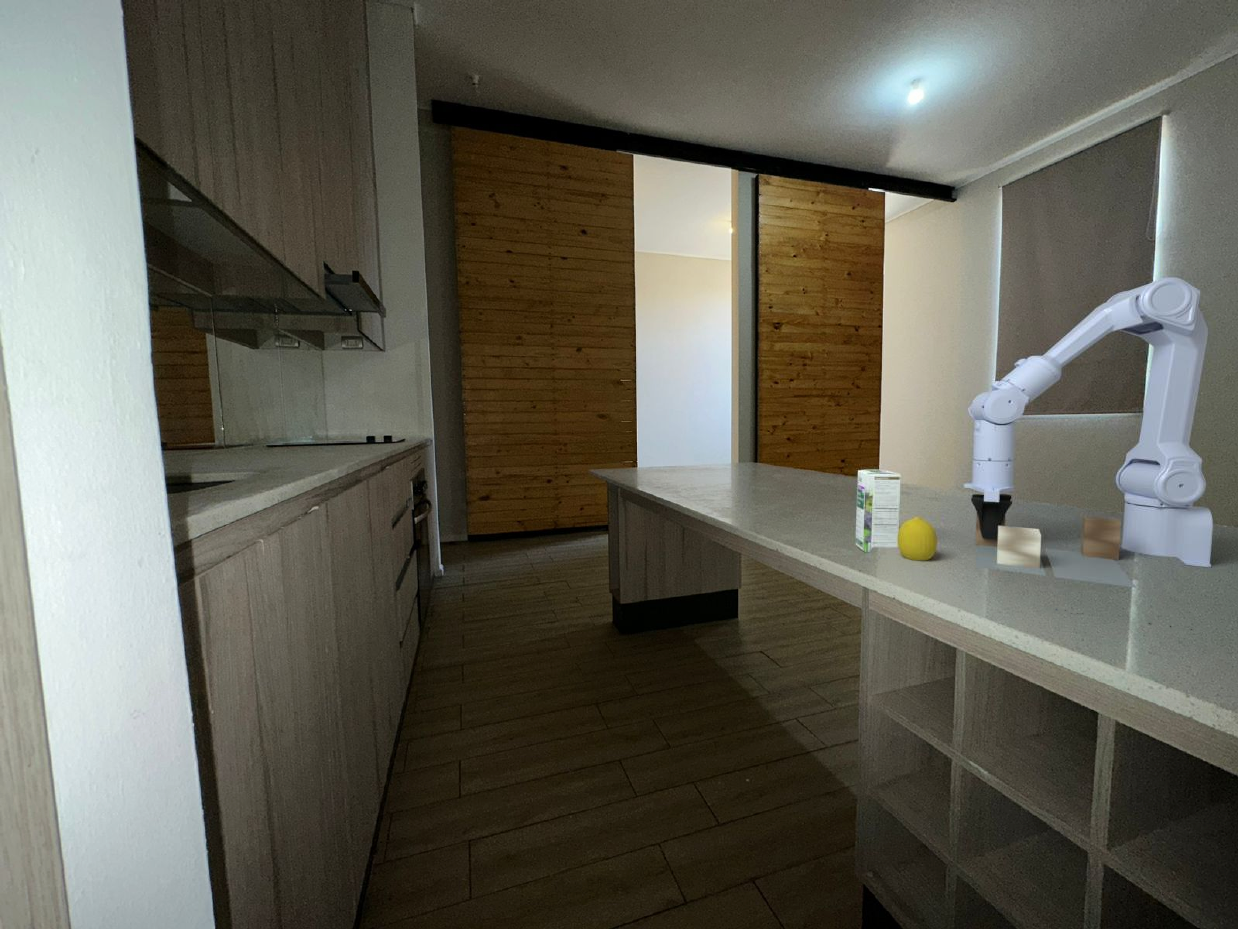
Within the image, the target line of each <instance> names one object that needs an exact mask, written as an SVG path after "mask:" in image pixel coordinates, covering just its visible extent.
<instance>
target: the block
mask: <svg viewBox="0 0 1238 929" xmlns="http://www.w3.org/2000/svg"><path fill="white" fill-rule="evenodd" d="M1041 542H1042V534H1041V531H1040V529H1039V528H1030V527H1019V526H1006V525H1005V526H998V543H997V563H998V564H1006V565H1014V566H1023V567H1031V568H1040V559H1041V547H1042V546H1041V544H1042V543H1041Z"/></svg>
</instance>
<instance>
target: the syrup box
mask: <svg viewBox="0 0 1238 929" xmlns="http://www.w3.org/2000/svg"><path fill="white" fill-rule="evenodd" d="M901 480H902V474H901V473H898V472H895V471H890V470H887V469H877V468H876V469H875V468H874V469H873V468H872V469H871V468H870V469H868V468H867V469H860V470H859V469H858V470H857V489H856V493H857V494H856V514H855V515H856V517H855V521H856V522H855V547H858V548H859V549H861V550H862V551H863V552H864V553H870V551H872V549H873V548H898V542H897V538H898V532H899V529H900V515H901V514H900V512H901V511H900V510H901V487H902V486H901V484H902V481H901Z"/></svg>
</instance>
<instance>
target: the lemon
mask: <svg viewBox="0 0 1238 929" xmlns="http://www.w3.org/2000/svg"><path fill="white" fill-rule="evenodd" d="M897 542H898V547H897V548H898V550H899V552H900V554H901V555H902V556H903V557H904V558H905V559H907V560H911V561H917V562H921V561H922V562H924V561H928V560H930V559H931V558H932V557H933V556H934V555H935V553H936V552H937V546H938V538H937V533H936V529H935V528H934V527H933V526H932V524H931V523H929V522H928V521H927V520H925V519H922V518H921V516H915V517H914V518H911V519H908V520H906V521H904V522H903V524H901V525H900V526H899V532H898V538H897Z"/></svg>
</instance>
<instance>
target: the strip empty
mask: <svg viewBox="0 0 1238 929" xmlns="http://www.w3.org/2000/svg"><path fill="white" fill-rule="evenodd" d="M1081 523H1082V524H1081V537H1080V538H1081V539H1080V540H1081V542H1080V551H1073V550H1064V549H1053V548H1052V549H1051V548H1045V547H1044V551H1045V553H1046V557H1047V559H1048V561H1049V565H1050V567H1051V570H1052V572H1053V575H1054V577H1055V578H1059V579H1066V580H1074V581H1081V582H1087V583H1089V582H1090V583H1097V584H1106V585H1113V586H1120V587H1121V586H1122V587H1128V588H1129V587H1130V588H1137V586H1136V585H1135V584H1134V582H1133V581H1132V580H1131V579H1130V578H1129V577H1128V575H1127V573H1126V572H1124V570H1123V569H1122V567H1121V566H1120V565H1119V564H1118V563H1117V561H1119V559H1120V558H1119V556H1120V546H1121V544H1120V541H1121V526H1122V522H1121V521H1120V519H1118V518H1115V517H1101V516H1089V515H1087V516H1085V515H1083V516H1082V520H1081Z"/></svg>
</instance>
